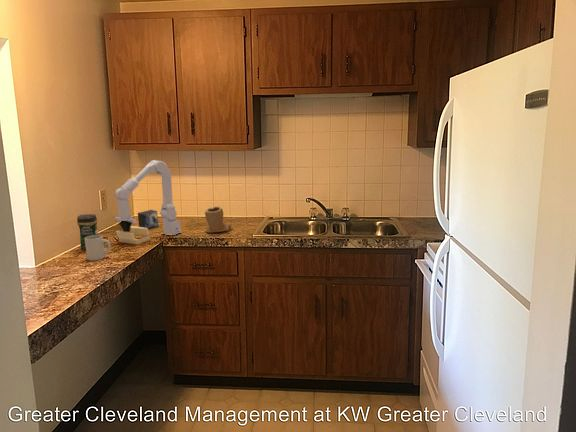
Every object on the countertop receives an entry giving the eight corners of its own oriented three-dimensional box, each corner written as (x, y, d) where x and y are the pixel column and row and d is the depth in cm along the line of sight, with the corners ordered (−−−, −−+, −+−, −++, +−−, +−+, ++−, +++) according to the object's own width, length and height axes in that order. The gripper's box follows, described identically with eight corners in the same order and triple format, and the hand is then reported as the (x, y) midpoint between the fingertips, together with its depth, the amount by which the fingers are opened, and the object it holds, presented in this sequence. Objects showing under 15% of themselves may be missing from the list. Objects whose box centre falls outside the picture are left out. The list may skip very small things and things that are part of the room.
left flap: (133, 232, 248) (131, 233, 247) (135, 238, 250) (134, 239, 249) (117, 230, 254) (115, 231, 253) (119, 236, 256) (118, 237, 255)
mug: (84, 261, 226) (81, 239, 223) (91, 255, 234) (88, 235, 231) (109, 259, 226) (106, 238, 223) (114, 254, 234) (112, 234, 232)
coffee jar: (79, 250, 244) (74, 216, 240) (84, 246, 252) (79, 213, 247) (97, 249, 245) (92, 215, 240) (102, 245, 252) (97, 212, 248)
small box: (145, 230, 280) (143, 214, 278) (138, 229, 284) (136, 212, 282) (159, 226, 288) (157, 210, 286) (152, 225, 292) (151, 209, 290)
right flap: (148, 234, 258) (150, 233, 259) (146, 229, 256) (147, 227, 257) (132, 232, 264) (134, 231, 265) (130, 227, 262) (131, 225, 263)
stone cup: (204, 235, 264) (202, 210, 260) (206, 230, 275) (204, 205, 272) (231, 233, 265) (229, 208, 262) (231, 228, 277) (229, 204, 273)
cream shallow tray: (150, 239, 258) (149, 235, 258) (136, 244, 250) (136, 240, 249) (133, 237, 265) (132, 233, 265) (119, 242, 257) (118, 237, 256)
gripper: (109, 210, 250) (112, 234, 253) (127, 212, 242) (130, 237, 246) (119, 208, 256) (122, 231, 259) (137, 210, 248) (140, 233, 252)
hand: (127, 234), depth 253 cm, fingers closed, pressing on left flap
